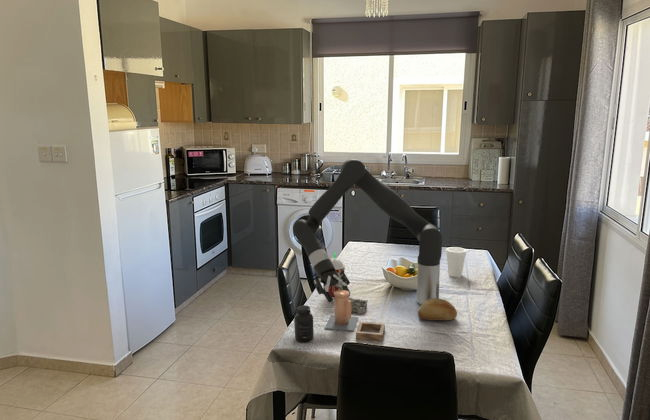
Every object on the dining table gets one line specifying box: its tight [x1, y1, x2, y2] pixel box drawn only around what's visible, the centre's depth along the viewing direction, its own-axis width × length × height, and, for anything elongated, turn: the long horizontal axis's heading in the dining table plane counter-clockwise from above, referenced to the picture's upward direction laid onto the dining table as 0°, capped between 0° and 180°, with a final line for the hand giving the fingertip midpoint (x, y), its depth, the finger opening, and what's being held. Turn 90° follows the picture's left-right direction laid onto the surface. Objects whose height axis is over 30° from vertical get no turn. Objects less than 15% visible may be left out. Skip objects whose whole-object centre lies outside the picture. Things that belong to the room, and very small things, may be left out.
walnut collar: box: [355, 321, 386, 342], centre depth 174 cm, size 9×9×2 cm
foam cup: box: [445, 246, 467, 278], centre depth 235 cm, size 10×9×13 cm
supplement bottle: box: [293, 304, 315, 344], centre depth 170 cm, size 7×7×12 cm
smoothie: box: [328, 251, 346, 299], centre depth 210 cm, size 8×8×20 cm
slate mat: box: [324, 314, 359, 333], centre depth 183 cm, size 11×12×1 cm
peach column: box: [334, 290, 352, 325], centre depth 182 cm, size 8×6×12 cm
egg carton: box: [349, 297, 369, 314], centre depth 197 cm, size 11×8×4 cm
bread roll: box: [417, 298, 458, 321], centre depth 186 cm, size 10×15×8 cm, turn 85°
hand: (340, 299), depth 182 cm, fingers open, 8 cm apart
